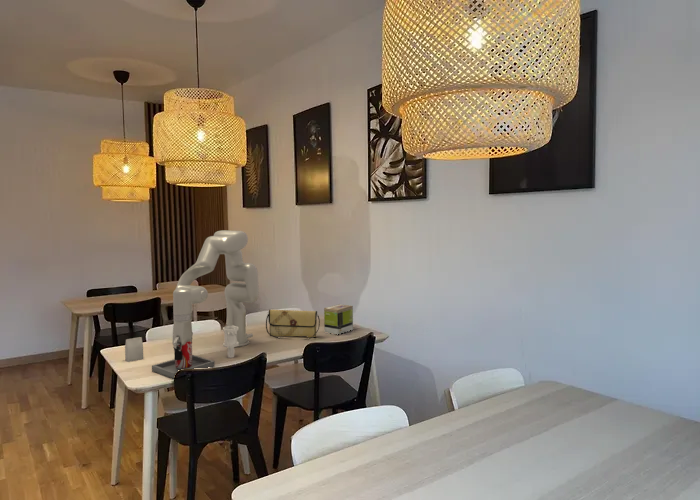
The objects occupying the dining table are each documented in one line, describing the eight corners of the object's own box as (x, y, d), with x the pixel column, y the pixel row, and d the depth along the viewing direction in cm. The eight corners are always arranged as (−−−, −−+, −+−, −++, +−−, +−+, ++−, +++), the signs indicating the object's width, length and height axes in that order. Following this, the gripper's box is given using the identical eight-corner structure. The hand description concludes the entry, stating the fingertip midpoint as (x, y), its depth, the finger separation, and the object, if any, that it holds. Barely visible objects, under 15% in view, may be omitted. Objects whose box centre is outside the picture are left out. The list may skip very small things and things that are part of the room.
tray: (192, 359, 214) (192, 354, 214) (214, 366, 205) (214, 361, 204) (151, 371, 198) (151, 365, 198) (173, 379, 188) (173, 373, 188)
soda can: (186, 370, 197) (186, 342, 196) (171, 369, 199) (171, 341, 198) (195, 365, 204) (195, 338, 203) (181, 364, 206) (180, 337, 205)
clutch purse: (264, 338, 252) (264, 311, 251) (267, 335, 259) (267, 308, 258) (318, 340, 249) (318, 313, 248) (320, 337, 256) (320, 310, 255)
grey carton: (143, 359, 214) (142, 337, 214) (127, 362, 210) (127, 340, 209) (140, 357, 217) (140, 336, 216) (125, 360, 213) (124, 338, 212)
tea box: (339, 328, 278) (339, 303, 276) (353, 330, 272) (353, 305, 271) (323, 333, 265) (323, 307, 264) (337, 335, 259) (337, 309, 258)
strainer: (230, 359, 215) (230, 327, 213) (219, 357, 218) (219, 325, 217) (241, 356, 221) (241, 324, 219) (231, 353, 224) (230, 322, 223)
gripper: (183, 312, 208) (183, 350, 210) (164, 321, 191) (165, 362, 192) (199, 313, 208) (199, 351, 209) (182, 322, 191) (183, 363, 192)
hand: (183, 356), depth 201 cm, fingers open, 9 cm apart
